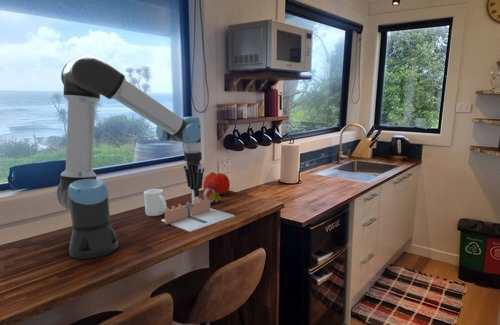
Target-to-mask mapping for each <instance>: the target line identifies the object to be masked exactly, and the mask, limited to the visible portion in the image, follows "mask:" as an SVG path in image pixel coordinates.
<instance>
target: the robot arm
mask: <svg viewBox="0 0 500 325" xmlns="http://www.w3.org/2000/svg"><path fill="white" fill-rule="evenodd" d="M60 80H61V82H62V84H63V97H64V99H66V100H67V103H68V104H67V122H66V123H67V124H66V128H67V129H66V150H65V151H66V153H65V170H63V171H62V172H61V173H60V174H59V175H60V177H59V182H60V183H59V184H58V186H57V188H56V197H57V198H56V199H57V201H58V202H59V203H60V205H61V206H62V207H63V208H65V209H66V210H68V211H69V212H70V218H71V224H72V225H71V226H72V233H71V238H70V242H69V246H68V252H69V253H68V254H69V256H70V257H71V258H74V259H78V260H88V259H96V258H100V257H103V256H106V255H109V254H111V253H113V252H114V251H116V250H117V249H118V248H119V241H118V237H117V235H116V233H115V231H114V228H113V227H112V224H111V214H110V204H109V202H110V201H109V190H108V186H107V184H106V183H107V182H105V181H103V180H101V179H98V178H97V174H96V173H95V171H94V170H93V161H94V160H93V157H94V156H93V155H94V136H95V135H94V134H95V114H96V113H95V111H96V104H97V103H98V102H99V101H100V100H101V96H103V97H105V98H106V99H108V100H113V99H114V100H115V101H116V102H119V103H120V104H122V105H123V106H124V107H126V108H128V109H130V110H131V111H133V112H134V113H135V114H138V115H139V116H141V117H142V118H144V119H146V120H147V121H149V122H150V123H152V124H154V125H155V126H156V128H155V133H156V137H157V140H159V141H160V142H169V141H170V142H171V141H172V142H179V143H183V151H184V153H183V154H184V161H185V162H186V165H184V166H183V169H184V173H185V178H186V179H185V180H186V183H187V187H188V188H190V192H191V204H192V203H193V200H196V202H199V199H200V198H199V197H200V192H199V190H200V189H202V188H203V181H204V180H203V179H204V178H203V177H204V173H205V168H204V167H201V162H200V161H202V159H203V157H202V154H203V152H201V151H202V142H201V141H202V139H201V138H202V131H201V121H200V117H198V116H183V117H181V116H179V115H178V114H176V113H175V112H173V111H172V110H170V109H169V108H168V107H166V106H165V105H163V104H162V103H160V102H159V101H158V100H156V99H154V98H153V97H151V96H150V95H148V94H147V93H145V92H144V91H143V90H141V89H139V88H138V87H137V86H135V85H134V84H133V83H131V82H129V81H128V80H127V79H126V75H125V74H123V73H122V72H120V71H119V70H117V68H114V67H113V66H112V65H110V64H108V63H107V62H106V61H104V60H102V59H100V58H99V57H96V56H94V55H93V56H92V55H83V56H79V57H78V58H74V59H72V60H69V61H68V62H67V63H66V64H64V66H63V68H62V69H61V74H60Z"/></svg>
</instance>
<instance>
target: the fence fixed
mask: <svg viewBox="0 0 500 325" xmlns="http://www.w3.org/2000/svg"><path fill="white" fill-rule="evenodd" d="M190 204H191V202H188V201H187V202H186V205H182V204H180V203H178V204H177V207H176V206H175V205H172V206H171V209H170V208H169V207H166V210H165V211H164V219H165V222H164V224H165V225H170V224H169V223H172V222H175V221H179V220H182V219H185V218H187V217H191V212H190V211H191V209H190Z"/></svg>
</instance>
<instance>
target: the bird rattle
mask: <svg viewBox="0 0 500 325" xmlns="http://www.w3.org/2000/svg"><path fill="white" fill-rule="evenodd" d="M205 185H206V186H207V187H208V188H207V189H206V190H204V192H203V198H204V197H207V199H210V204H211V203H213V202H215V203H218V201H219V200H221V199H222V197H221V195H219V194H218V193H216V194H215V191H214V190H213V187H214V186H215V183H214V182H213V181H212V182H209V183H206V184H205Z"/></svg>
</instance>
